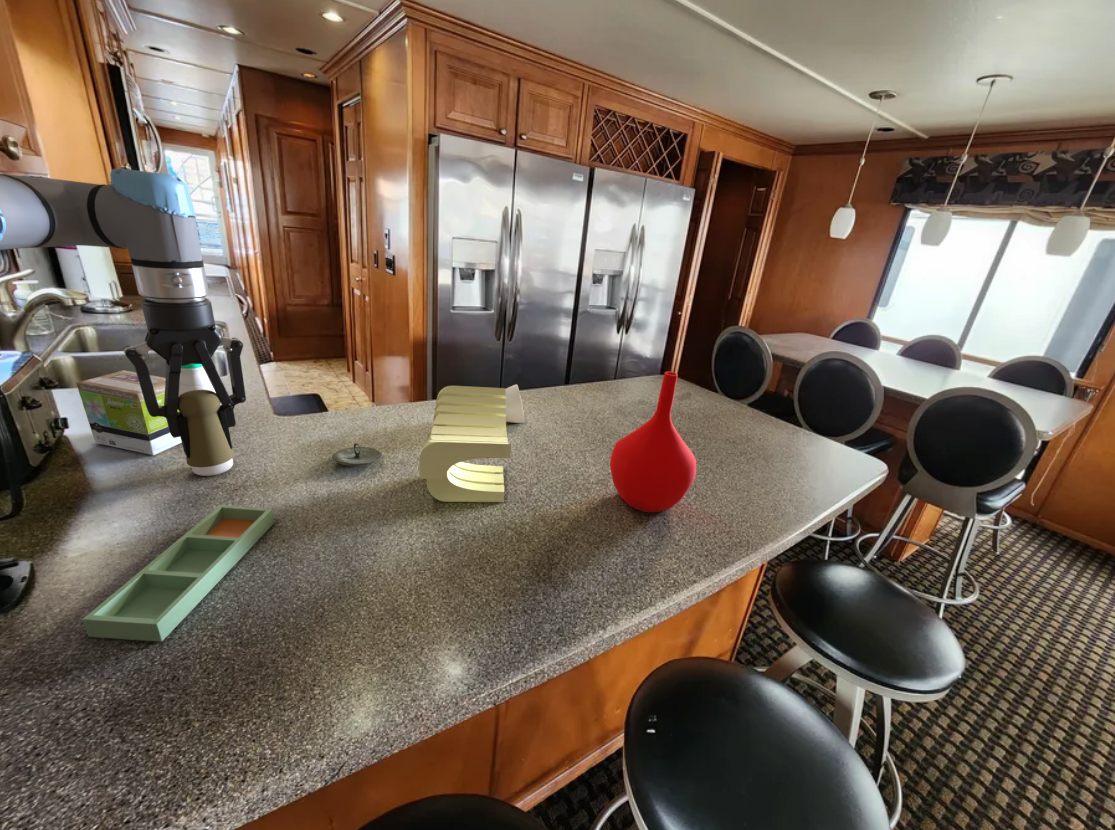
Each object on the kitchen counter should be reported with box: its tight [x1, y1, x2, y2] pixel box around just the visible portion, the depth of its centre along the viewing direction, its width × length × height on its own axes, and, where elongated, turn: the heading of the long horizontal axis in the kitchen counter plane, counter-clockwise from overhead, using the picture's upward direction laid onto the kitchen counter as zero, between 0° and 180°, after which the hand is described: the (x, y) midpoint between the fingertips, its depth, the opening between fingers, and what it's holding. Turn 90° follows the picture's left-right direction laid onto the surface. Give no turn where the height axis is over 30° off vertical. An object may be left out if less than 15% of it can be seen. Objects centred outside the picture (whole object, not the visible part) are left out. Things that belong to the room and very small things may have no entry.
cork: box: [178, 390, 235, 467], centre depth 70 cm, size 6×6×11 cm
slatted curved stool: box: [418, 385, 512, 503], centre depth 97 cm, size 30×16×18 cm, turn 8°
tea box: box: [76, 369, 182, 456], centre depth 101 cm, size 15×10×15 cm
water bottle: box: [179, 364, 234, 477], centre depth 92 cm, size 7×7×25 cm
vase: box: [609, 371, 697, 514], centre depth 97 cm, size 18×18×30 cm
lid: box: [331, 443, 383, 467], centre depth 104 cm, size 11×10×5 cm
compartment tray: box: [81, 504, 275, 643], centre depth 70 cm, size 9×26×3 cm, turn 1°
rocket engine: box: [505, 383, 525, 424], centre depth 133 cm, size 12×12×18 cm
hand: (208, 449), depth 71 cm, fingers closed on cork, 4 cm apart
